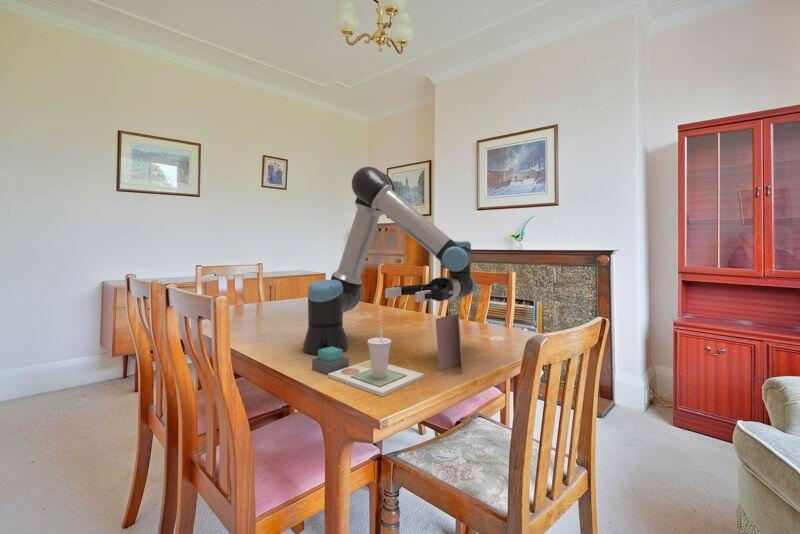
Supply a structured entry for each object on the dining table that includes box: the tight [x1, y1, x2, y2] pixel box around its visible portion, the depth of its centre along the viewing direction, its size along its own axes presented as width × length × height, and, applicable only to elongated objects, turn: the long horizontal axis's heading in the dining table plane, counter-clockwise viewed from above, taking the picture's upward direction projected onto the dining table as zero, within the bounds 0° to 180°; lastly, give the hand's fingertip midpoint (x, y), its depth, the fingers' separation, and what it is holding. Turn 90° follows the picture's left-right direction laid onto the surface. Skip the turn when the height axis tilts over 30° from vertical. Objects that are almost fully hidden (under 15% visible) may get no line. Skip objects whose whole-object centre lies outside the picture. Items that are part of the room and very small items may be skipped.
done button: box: [317, 346, 344, 363], centre depth 109 cm, size 5×5×3 cm
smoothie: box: [366, 324, 392, 379], centre depth 99 cm, size 6×6×14 cm
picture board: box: [327, 359, 425, 398], centre depth 102 cm, size 20×17×1 cm
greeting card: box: [435, 313, 463, 372], centre depth 110 cm, size 11×7×15 cm, turn 135°
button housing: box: [311, 356, 350, 375], centre depth 109 cm, size 7×7×3 cm
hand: (400, 295), depth 105 cm, fingers open, 10 cm apart
